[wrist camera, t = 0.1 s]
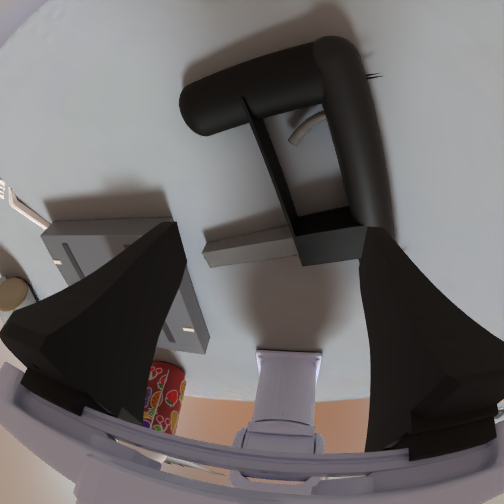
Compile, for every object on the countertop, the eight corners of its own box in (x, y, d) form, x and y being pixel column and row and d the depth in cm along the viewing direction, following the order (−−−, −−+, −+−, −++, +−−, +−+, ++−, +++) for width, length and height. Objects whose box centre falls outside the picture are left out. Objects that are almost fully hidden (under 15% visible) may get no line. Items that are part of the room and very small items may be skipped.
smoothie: (142, 350, 40) (98, 468, 25) (195, 367, 41) (160, 491, 25) (145, 371, 46) (110, 472, 30) (191, 386, 46) (162, 491, 31)
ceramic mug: (34, 281, 35) (8, 318, 29) (51, 314, 40) (29, 348, 34) (-3, 263, 35) (-27, 295, 29) (14, 295, 40) (-7, 325, 35)
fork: (102, 265, 30) (94, 277, 29) (-11, 185, 25) (-20, 193, 23) (107, 249, 29) (99, 261, 27) (-11, 165, 23) (-21, 173, 21)
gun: (234, 317, 27) (411, 300, 21) (119, 117, 16) (374, 27, 10) (242, 292, 30) (405, 272, 24) (144, 104, 19) (365, 30, 13)
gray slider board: (209, 337, 34) (204, 355, 32) (110, 322, 37) (102, 337, 35) (172, 217, 24) (160, 236, 22) (53, 221, 26) (39, 236, 24)
